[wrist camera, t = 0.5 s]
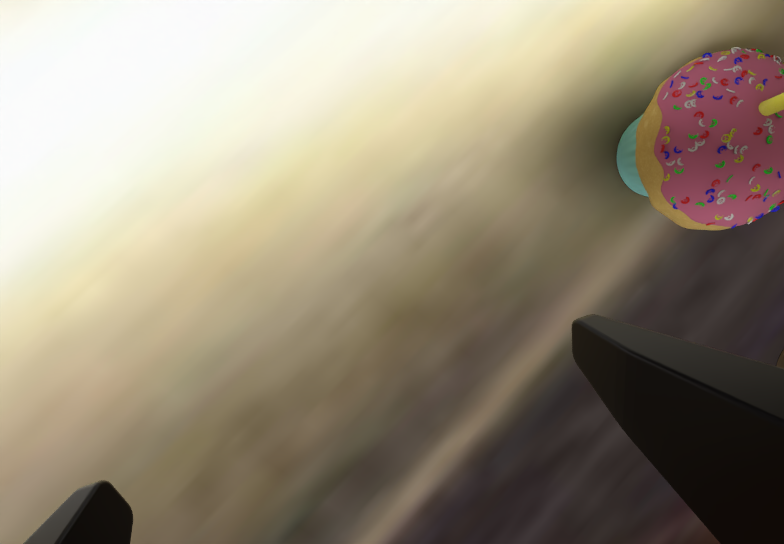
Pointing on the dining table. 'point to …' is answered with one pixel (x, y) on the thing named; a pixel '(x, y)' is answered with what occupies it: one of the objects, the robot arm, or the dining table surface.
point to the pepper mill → (781, 360)
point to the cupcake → (711, 141)
